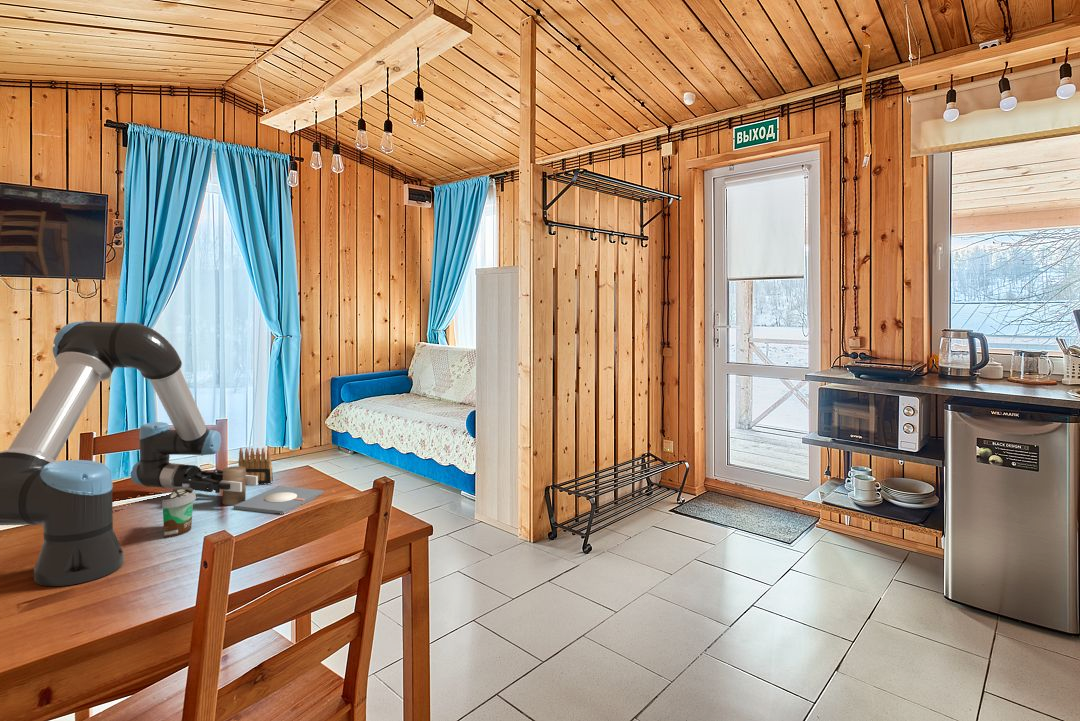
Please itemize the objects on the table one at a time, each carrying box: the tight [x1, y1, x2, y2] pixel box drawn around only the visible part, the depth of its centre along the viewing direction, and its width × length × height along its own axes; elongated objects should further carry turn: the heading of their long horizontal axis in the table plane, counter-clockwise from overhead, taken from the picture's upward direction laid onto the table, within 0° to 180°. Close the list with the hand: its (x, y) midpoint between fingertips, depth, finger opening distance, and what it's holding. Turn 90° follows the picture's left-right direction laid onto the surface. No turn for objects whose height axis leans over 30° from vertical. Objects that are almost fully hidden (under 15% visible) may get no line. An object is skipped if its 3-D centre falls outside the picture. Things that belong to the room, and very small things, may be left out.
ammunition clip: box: [238, 447, 274, 485], centre depth 188 cm, size 11×2×12 cm, turn 93°
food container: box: [161, 487, 197, 539], centre depth 147 cm, size 12×6×10 cm, turn 22°
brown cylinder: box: [222, 465, 247, 507], centre depth 170 cm, size 6×6×10 cm
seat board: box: [233, 485, 325, 515], centre depth 172 cm, size 20×16×1 cm
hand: (249, 483), depth 168 cm, fingers closed on brown cylinder, 6 cm apart
